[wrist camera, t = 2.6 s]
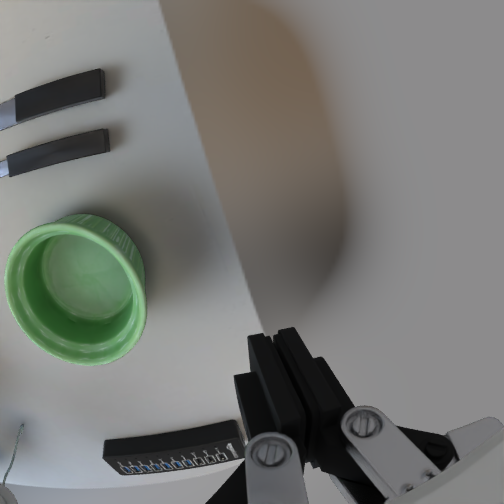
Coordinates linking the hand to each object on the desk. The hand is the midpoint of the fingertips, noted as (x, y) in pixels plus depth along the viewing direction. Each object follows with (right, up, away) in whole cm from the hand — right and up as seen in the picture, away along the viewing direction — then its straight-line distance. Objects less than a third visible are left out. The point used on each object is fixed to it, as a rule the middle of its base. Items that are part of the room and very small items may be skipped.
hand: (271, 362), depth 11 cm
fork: (-16, +10, +4) cm, 19 cm away
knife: (-16, +13, +2) cm, 21 cm away
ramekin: (-12, +3, +8) cm, 14 cm away
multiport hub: (-9, -16, +16) cm, 24 cm away
